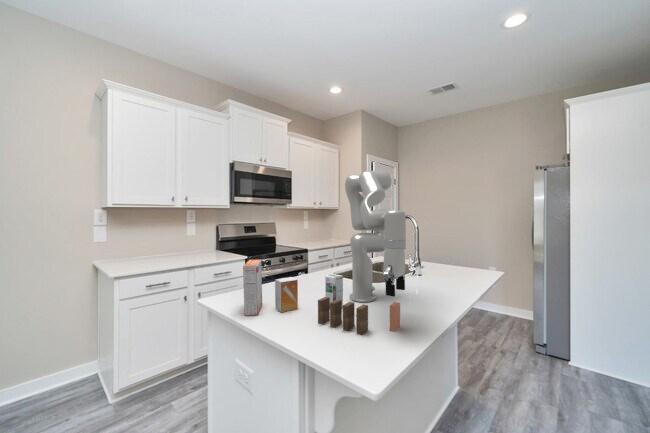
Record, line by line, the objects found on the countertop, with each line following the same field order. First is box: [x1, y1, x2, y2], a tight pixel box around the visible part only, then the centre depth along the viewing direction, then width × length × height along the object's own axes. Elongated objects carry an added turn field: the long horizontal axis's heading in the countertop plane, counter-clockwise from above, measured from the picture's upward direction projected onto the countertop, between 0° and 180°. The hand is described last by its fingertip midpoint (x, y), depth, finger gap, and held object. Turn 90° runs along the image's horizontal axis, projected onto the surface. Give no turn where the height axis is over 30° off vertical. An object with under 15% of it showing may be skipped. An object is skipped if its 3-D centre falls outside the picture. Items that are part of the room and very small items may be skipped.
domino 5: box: [389, 301, 401, 333], centre depth 104 cm, size 2×5×9 cm, turn 145°
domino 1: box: [317, 296, 330, 326], centre depth 111 cm, size 2×5×9 cm, turn 145°
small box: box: [274, 276, 299, 313], centre depth 126 cm, size 8×6×13 cm
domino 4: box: [355, 304, 369, 336], centre depth 101 cm, size 2×5×9 cm, turn 145°
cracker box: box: [242, 259, 263, 317], centre depth 124 cm, size 14×6×21 cm, turn 5°
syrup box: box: [324, 273, 344, 309], centre depth 126 cm, size 6×6×14 cm
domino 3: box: [342, 301, 356, 333], centre depth 104 cm, size 2×5×9 cm, turn 145°
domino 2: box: [329, 299, 343, 329], centre depth 108 cm, size 2×5×9 cm, turn 145°
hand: (395, 292), depth 103 cm, fingers open, 9 cm apart
